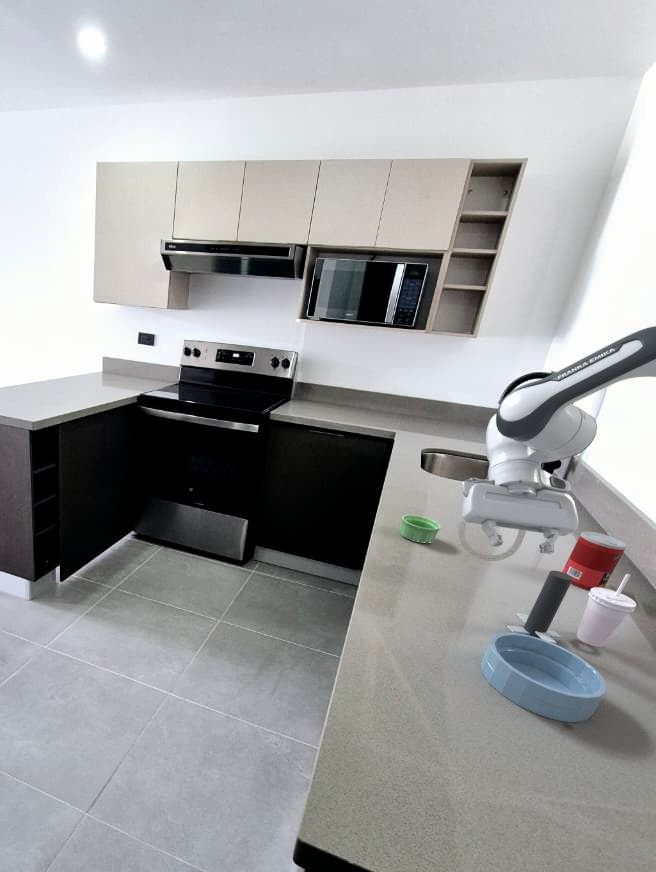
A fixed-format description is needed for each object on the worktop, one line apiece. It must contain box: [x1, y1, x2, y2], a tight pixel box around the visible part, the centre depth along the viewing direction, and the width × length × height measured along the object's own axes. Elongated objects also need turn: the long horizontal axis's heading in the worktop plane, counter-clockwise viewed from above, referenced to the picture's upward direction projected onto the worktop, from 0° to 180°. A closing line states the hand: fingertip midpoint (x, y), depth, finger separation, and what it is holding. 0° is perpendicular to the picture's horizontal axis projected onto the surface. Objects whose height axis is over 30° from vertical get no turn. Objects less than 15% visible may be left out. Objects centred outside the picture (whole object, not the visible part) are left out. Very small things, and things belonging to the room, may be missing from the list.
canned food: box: [562, 530, 627, 591], centre depth 111 cm, size 8×8×11 cm
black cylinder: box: [506, 570, 573, 645], centre depth 85 cm, size 8×8×13 cm
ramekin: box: [399, 514, 442, 543], centre depth 125 cm, size 9×9×4 cm
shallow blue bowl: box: [479, 631, 608, 723], centre depth 74 cm, size 14×14×5 cm
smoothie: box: [576, 573, 637, 648], centre depth 86 cm, size 6×6×14 cm
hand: (521, 549), depth 94 cm, fingers open, 8 cm apart
